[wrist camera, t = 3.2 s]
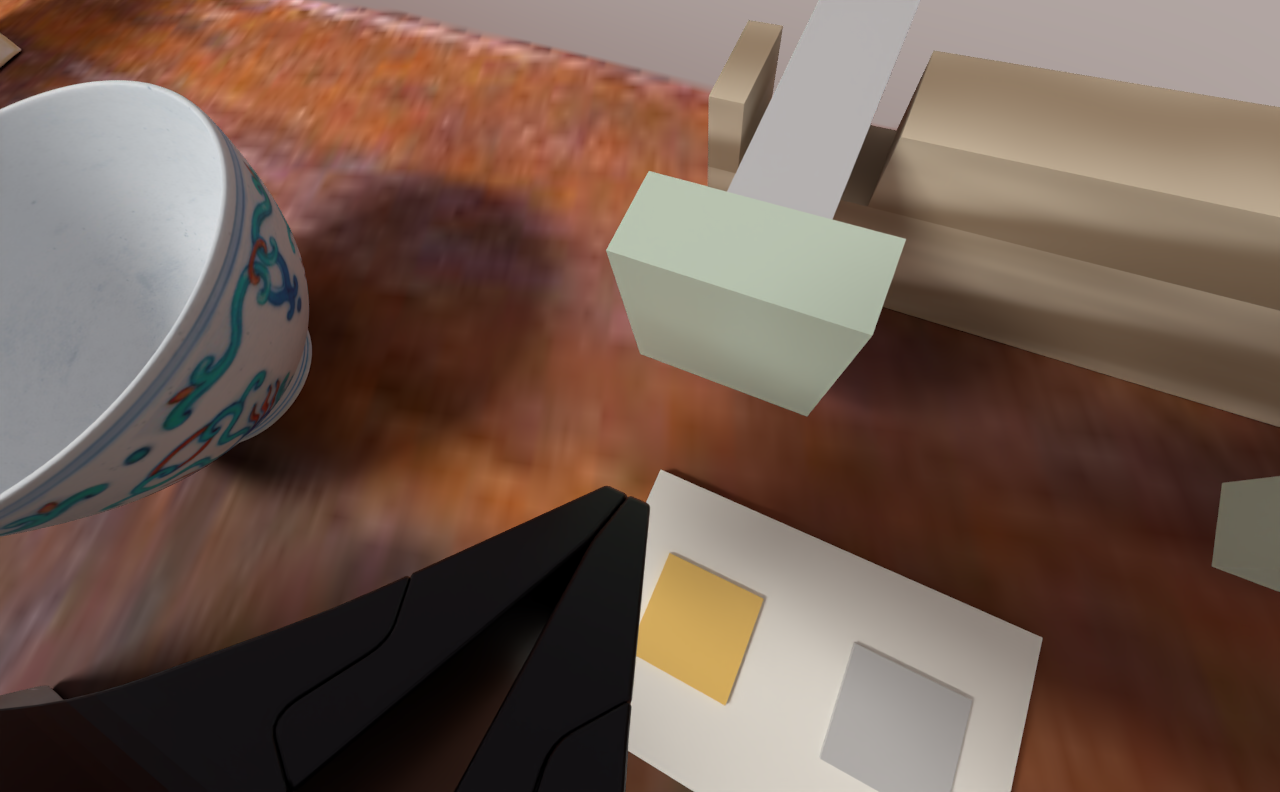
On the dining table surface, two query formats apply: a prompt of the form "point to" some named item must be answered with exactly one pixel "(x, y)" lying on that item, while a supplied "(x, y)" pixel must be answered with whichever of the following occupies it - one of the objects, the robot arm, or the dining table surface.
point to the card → (813, 664)
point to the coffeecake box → (7, 50)
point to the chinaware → (134, 300)
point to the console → (1066, 216)
